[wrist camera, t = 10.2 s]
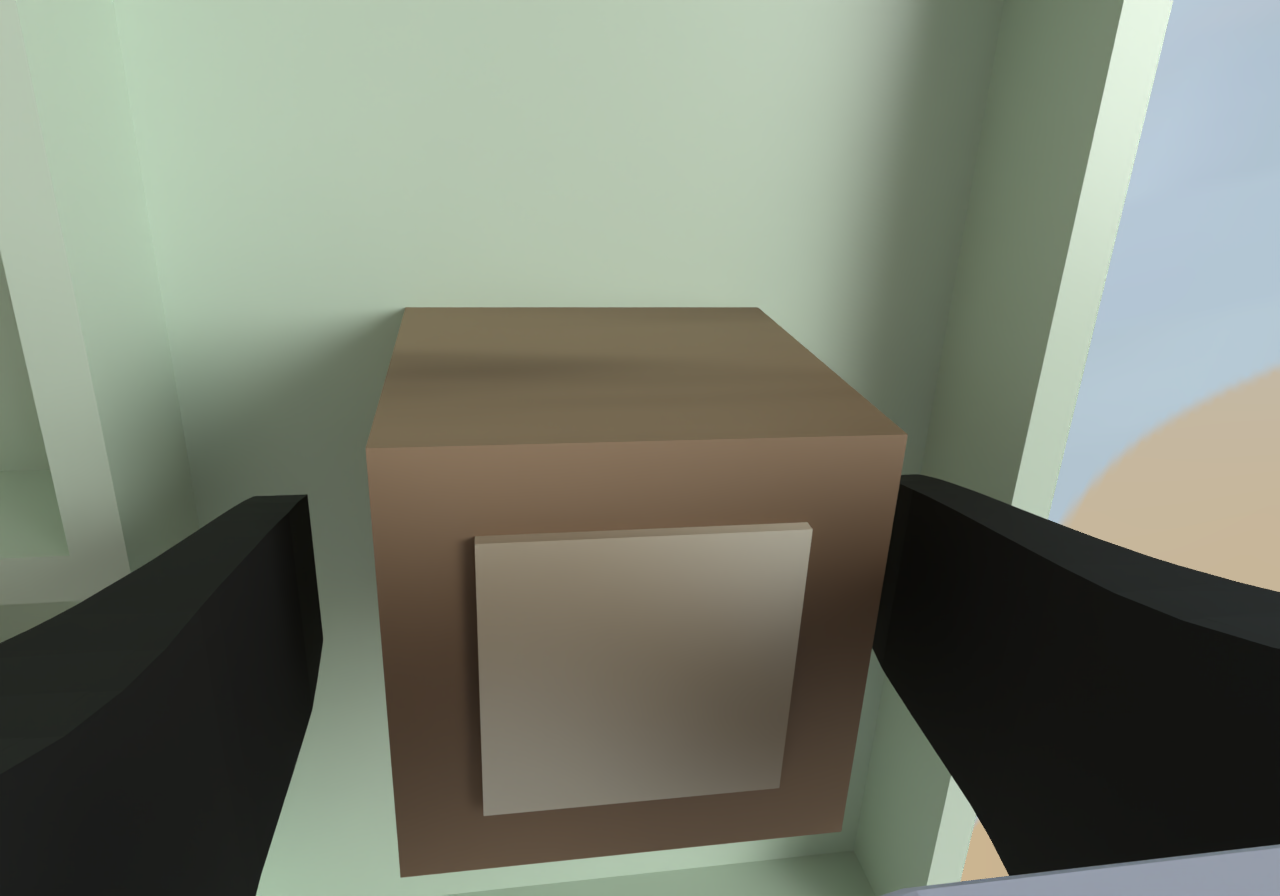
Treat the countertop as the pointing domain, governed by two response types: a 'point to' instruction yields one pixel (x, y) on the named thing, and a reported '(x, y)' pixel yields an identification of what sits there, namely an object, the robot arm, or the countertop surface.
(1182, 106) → the countertop surface
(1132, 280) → the countertop surface
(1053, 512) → the countertop surface
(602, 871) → the organiser
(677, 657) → the brown cube
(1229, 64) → the countertop surface
